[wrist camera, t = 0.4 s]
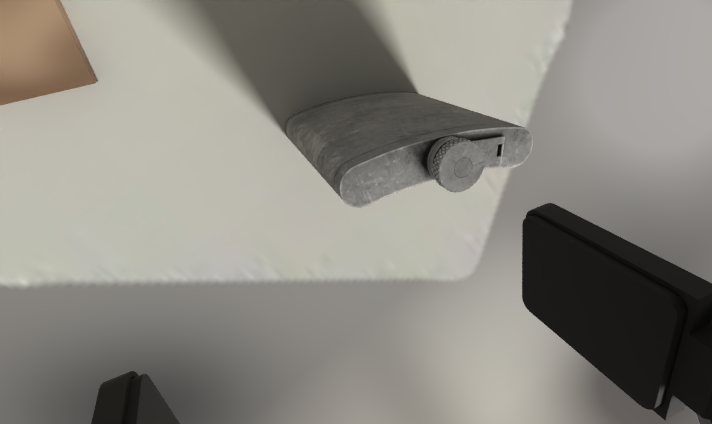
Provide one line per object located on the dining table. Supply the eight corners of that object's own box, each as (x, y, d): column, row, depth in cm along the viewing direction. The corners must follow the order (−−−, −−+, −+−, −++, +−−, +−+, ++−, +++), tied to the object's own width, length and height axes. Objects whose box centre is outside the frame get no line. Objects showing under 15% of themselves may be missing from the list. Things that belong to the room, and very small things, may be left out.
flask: (281, 107, 37) (348, 168, 22) (422, 81, 41) (562, 118, 26) (288, 146, 39) (355, 228, 24) (423, 118, 43) (555, 172, 28)
